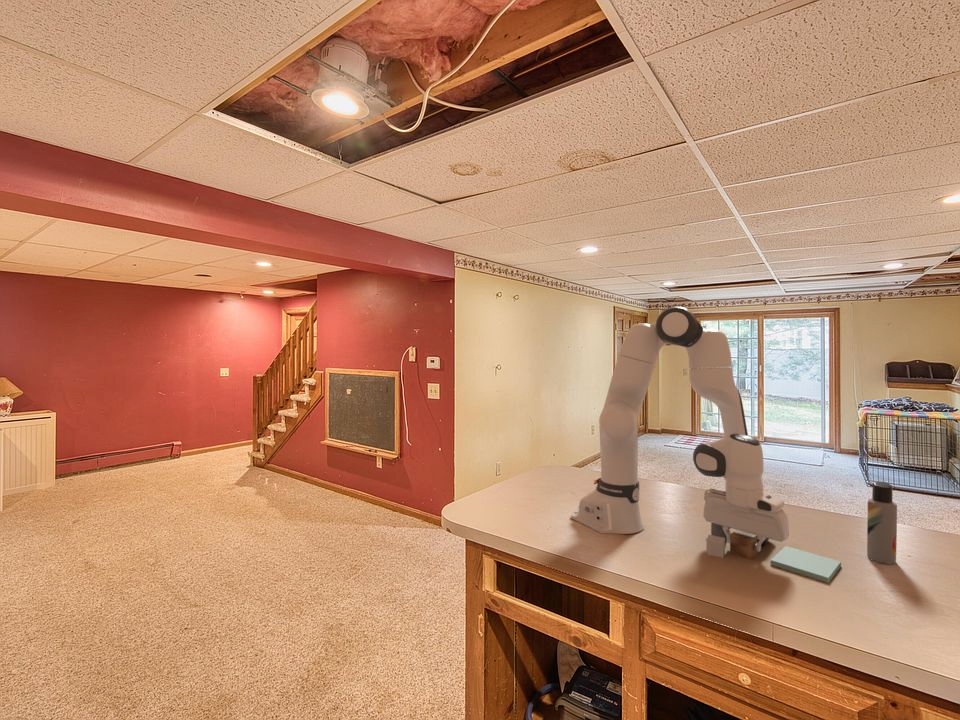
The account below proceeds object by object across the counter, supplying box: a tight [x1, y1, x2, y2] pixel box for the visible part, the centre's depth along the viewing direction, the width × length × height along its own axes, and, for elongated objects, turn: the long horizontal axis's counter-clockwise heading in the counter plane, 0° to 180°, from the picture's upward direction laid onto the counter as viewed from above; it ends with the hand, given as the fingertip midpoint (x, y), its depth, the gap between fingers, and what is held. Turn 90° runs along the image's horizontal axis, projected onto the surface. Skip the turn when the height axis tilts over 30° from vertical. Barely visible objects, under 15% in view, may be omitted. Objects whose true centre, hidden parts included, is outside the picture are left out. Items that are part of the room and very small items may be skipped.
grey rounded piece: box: [710, 522, 728, 543], centre depth 132 cm, size 4×4×5 cm
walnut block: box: [729, 529, 758, 560], centre depth 123 cm, size 5×5×5 cm
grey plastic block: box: [705, 534, 726, 559], centre depth 123 cm, size 4×4×4 cm
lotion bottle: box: [866, 481, 898, 565], centre depth 118 cm, size 6×6×20 cm
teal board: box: [770, 545, 842, 583], centre depth 116 cm, size 12×12×1 cm
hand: (743, 546), depth 123 cm, fingers closed on walnut block, 5 cm apart
